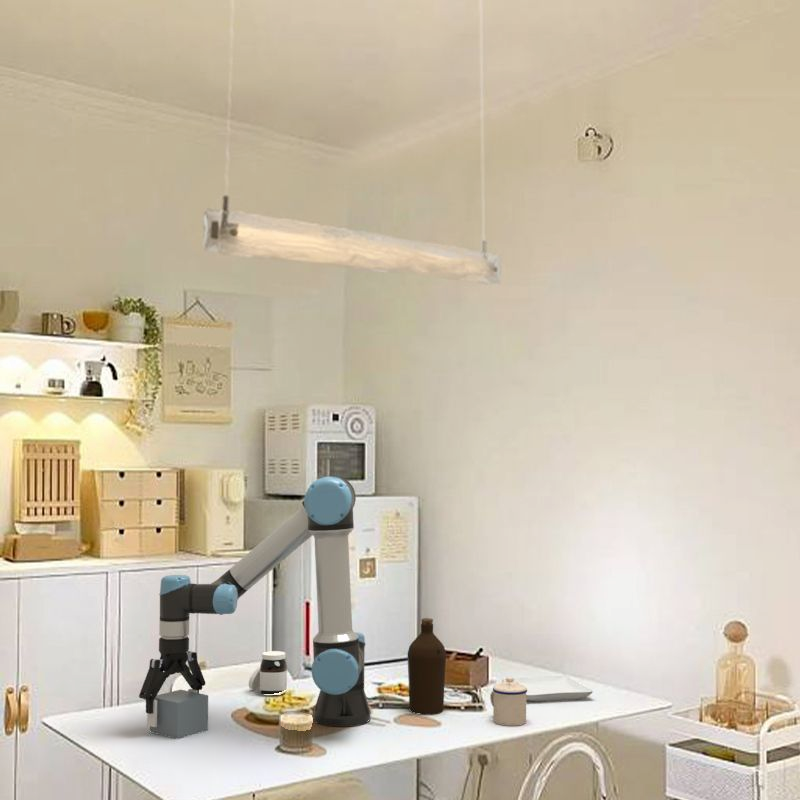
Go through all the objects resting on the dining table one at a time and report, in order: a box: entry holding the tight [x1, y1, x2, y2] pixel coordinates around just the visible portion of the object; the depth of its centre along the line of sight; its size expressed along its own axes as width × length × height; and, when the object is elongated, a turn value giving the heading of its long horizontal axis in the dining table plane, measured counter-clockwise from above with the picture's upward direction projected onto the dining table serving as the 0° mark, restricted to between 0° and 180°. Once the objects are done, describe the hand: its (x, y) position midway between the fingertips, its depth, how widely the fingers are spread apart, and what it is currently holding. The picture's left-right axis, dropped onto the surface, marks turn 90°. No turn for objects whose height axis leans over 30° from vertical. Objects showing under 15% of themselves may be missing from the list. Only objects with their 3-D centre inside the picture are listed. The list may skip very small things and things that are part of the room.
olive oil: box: [407, 617, 447, 715], centre depth 294 cm, size 11×11×25 cm
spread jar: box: [248, 650, 288, 695], centre depth 313 cm, size 12×11×12 cm
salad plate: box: [501, 674, 594, 702], centre depth 314 cm, size 21×21×3 cm
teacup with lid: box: [489, 676, 527, 727], centre depth 283 cm, size 12×9×12 cm
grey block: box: [149, 689, 209, 739], centre depth 270 cm, size 10×10×9 cm
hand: (172, 720), depth 271 cm, fingers open, 13 cm apart
